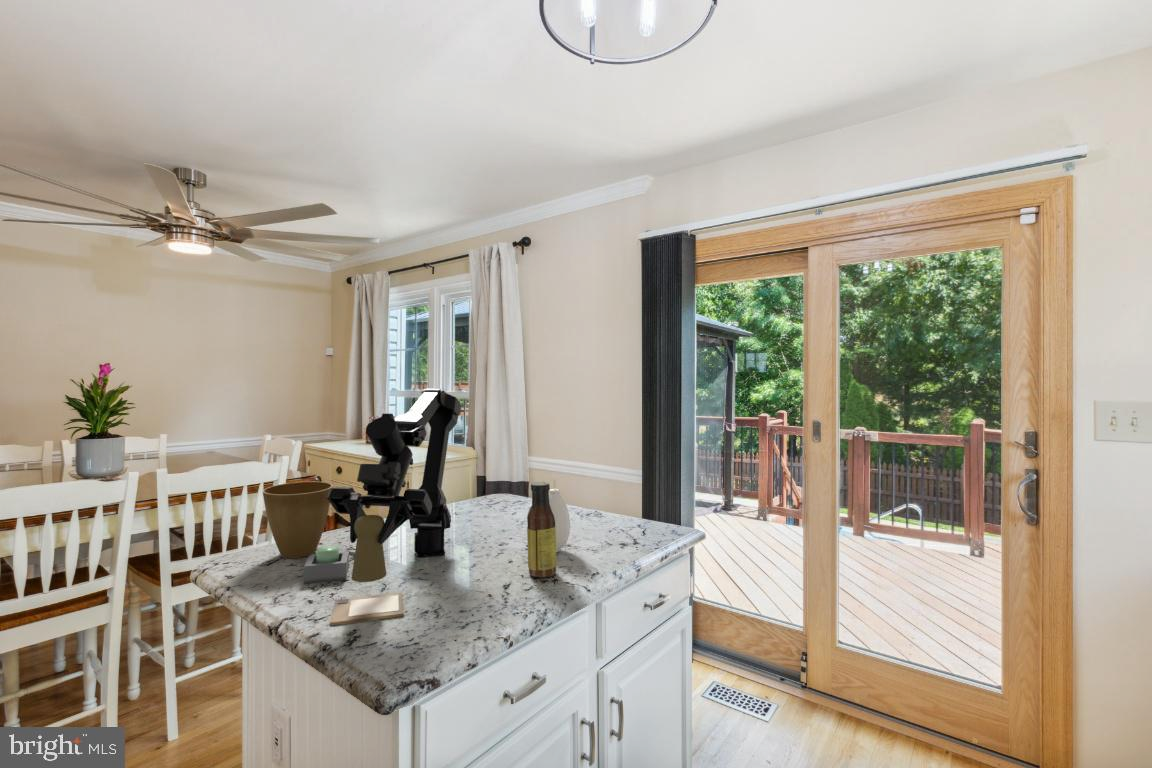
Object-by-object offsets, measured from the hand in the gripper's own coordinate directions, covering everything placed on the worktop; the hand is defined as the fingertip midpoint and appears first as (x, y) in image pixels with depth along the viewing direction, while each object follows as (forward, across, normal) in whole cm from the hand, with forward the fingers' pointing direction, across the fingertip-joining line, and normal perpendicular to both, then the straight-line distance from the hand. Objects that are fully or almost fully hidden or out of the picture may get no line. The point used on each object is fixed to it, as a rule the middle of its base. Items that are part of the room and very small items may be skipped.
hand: (366, 542), depth 97 cm
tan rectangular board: (+8, 0, +10) cm, 13 cm away
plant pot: (-11, -31, +30) cm, 45 cm away
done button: (-4, -17, +19) cm, 26 cm away
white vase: (-17, +30, +36) cm, 50 cm away
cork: (+4, 0, +6) cm, 7 cm away
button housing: (-3, -17, +21) cm, 27 cm away
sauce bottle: (-6, +29, +25) cm, 39 cm away
